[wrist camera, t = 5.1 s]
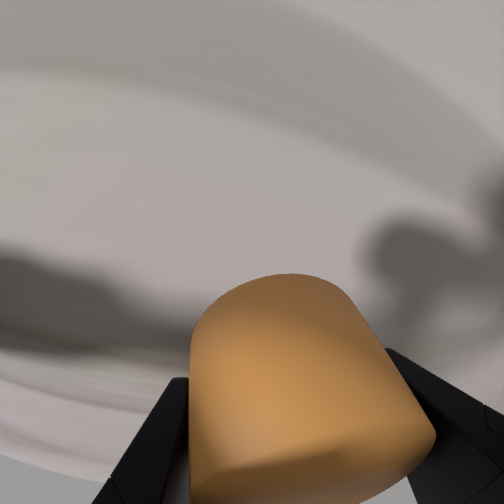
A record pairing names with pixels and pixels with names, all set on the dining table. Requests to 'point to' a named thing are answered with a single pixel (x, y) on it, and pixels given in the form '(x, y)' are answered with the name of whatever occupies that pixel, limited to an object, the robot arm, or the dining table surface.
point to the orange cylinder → (296, 400)
